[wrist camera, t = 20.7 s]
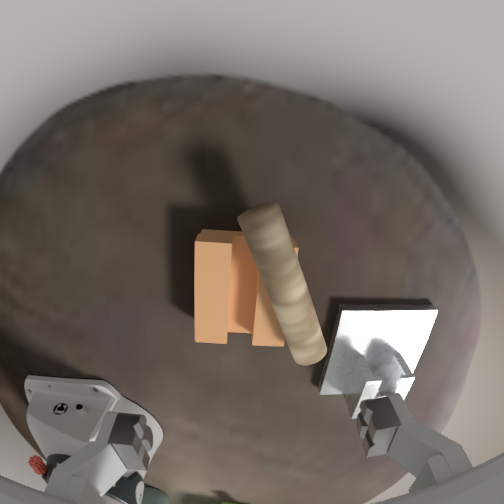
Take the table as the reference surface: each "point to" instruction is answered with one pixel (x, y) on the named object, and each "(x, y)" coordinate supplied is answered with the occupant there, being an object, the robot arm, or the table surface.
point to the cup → (154, 496)
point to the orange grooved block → (231, 291)
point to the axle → (283, 281)
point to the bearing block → (374, 351)
